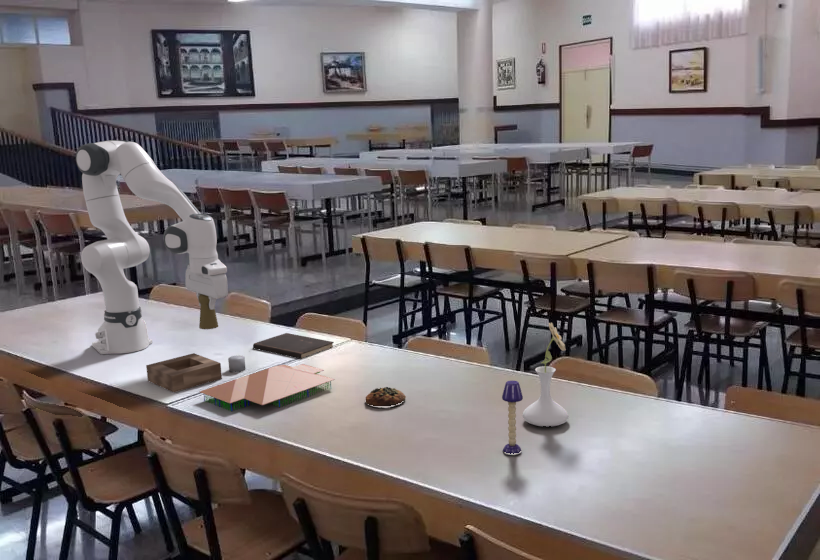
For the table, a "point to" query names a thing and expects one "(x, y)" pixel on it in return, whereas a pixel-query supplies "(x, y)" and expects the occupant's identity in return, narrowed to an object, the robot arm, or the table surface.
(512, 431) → the toy lamp
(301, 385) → the house
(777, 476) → the table surface
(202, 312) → the cork
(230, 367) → the short stub
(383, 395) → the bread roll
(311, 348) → the hardcover book
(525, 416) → the flower in vase
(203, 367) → the box
